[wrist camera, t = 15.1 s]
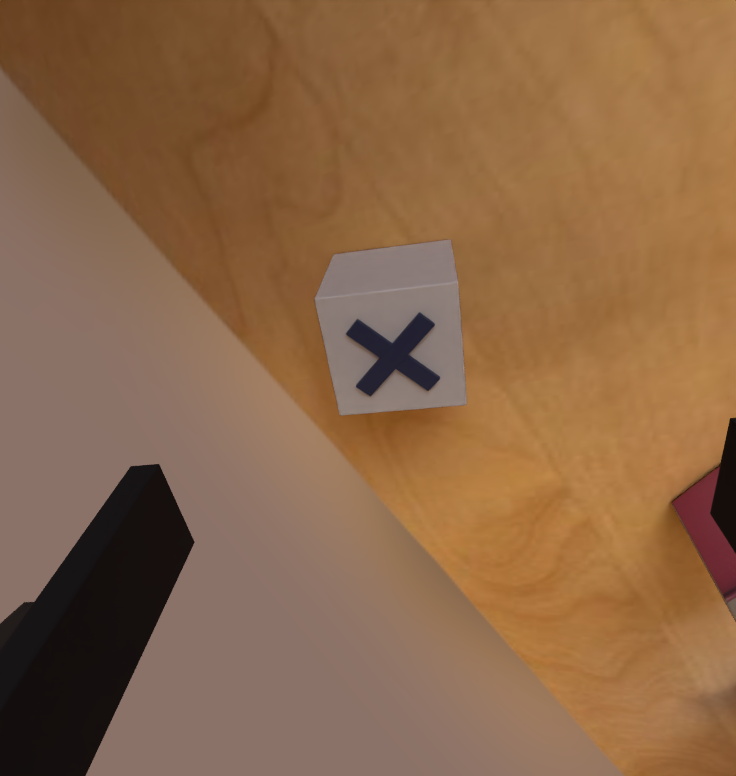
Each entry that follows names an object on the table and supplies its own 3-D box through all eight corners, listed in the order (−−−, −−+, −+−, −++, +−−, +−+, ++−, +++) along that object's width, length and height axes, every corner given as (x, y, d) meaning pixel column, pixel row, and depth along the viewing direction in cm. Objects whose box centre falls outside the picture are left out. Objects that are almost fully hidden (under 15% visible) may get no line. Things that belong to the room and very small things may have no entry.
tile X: (333, 254, 23) (312, 301, 19) (450, 238, 22) (458, 284, 18) (352, 356, 26) (338, 419, 21) (458, 346, 25) (467, 408, 20)
